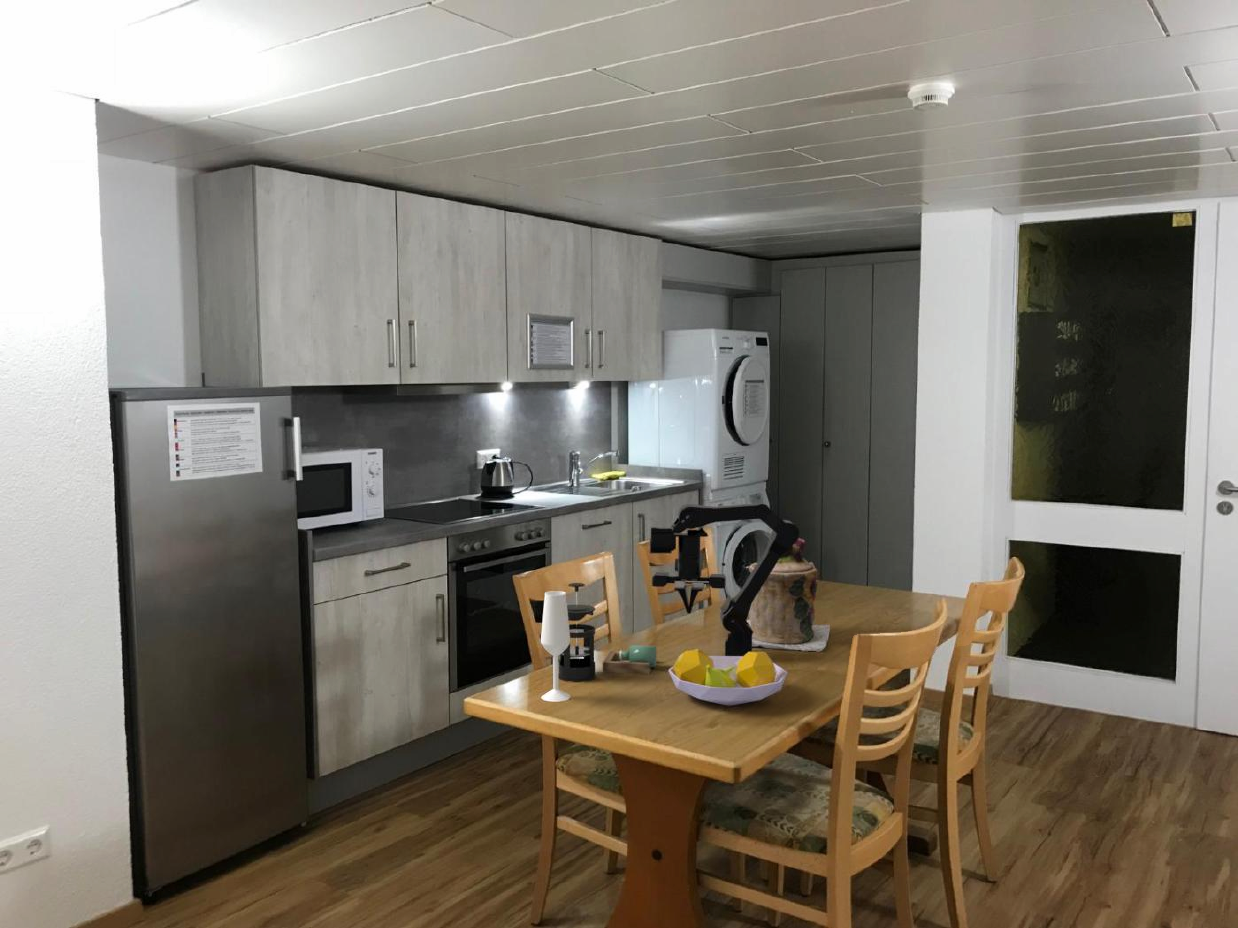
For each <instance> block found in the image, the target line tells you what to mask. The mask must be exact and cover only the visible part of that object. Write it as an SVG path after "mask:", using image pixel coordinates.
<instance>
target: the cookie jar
mask: <svg viewBox="0 0 1238 928" xmlns="http://www.w3.org/2000/svg"><path fill="white" fill-rule="evenodd" d="M805 550H806V540H804V539H803V538H800V537H799V538H798V540H797V542H796V543H795V544H794V545H793V546H792V547H791V548H790V549H789V550H788V551H787V552H786V553H785V554H784V555H782V556H781V557H780V559H779V560H778V562H777V563H776V565H775V567H774V568H773V570H772V571H771V573H770V575H769V576H768V578H767V579H766V581H765V583H764V584H763V586H762V587H761V589H760V591H759V592H758V594H757V595H756V597H755V599H754V600H753V602H752V604H751V607H750V611H749V614H748V617H749V619H746V621H747V622H748V623H749V625H750V627H751V629H752V630H753V634H752V648H753V647H762V648H766V649H775V650H788V651H789V650H790V651H798V650H801V651H800V652H808V651H817V652H816V653H819V652H823V650H824V649H825V648H826V646H827V642H828V641H829V636H830V631H831V627H830V624H814V621H815V617H816V616H815V615H816V611H815V605H814V603H815V601H816V598H817V591H818V586H819V585H818V582H817V580H818V577H819V571H818V569H817V568H816V566H815V564H814V563H813V562H812V561H810V562H809V561H808V560H806V559H805V558H803V556H802V554H800V553H803V552H804V551H805ZM757 563H758V562H754V563H752V564H751V565H749V569H748V570H749V572H750V574H751V573H752V571H753V569H754V568H755V566H756V565H757Z"/></svg>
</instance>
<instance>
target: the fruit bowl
mask: <svg viewBox="0 0 1238 928" xmlns="http://www.w3.org/2000/svg"><path fill="white" fill-rule="evenodd" d="M667 671H668V673H669V675H670V677H671V679H672V681H673V683H674V686H675V687H676V689H678V690H679V691H681V692H683V693H686V694H688V695H690V696H692V697H694V698H696V699H698V700H702V701H706V702H710V703H715V704H718V705H723V706H728V707H731V706H736V705H741V704H747V703H751V702H758V701H761V700H763V699H765V698H768V697H769V696H771V695H773V694H775V693H778V692H780V691H781V689H782V687H783V685H784V682H785V679H786V677H787V675H788V671H787V670H786V669H784V668H783V667H781V666H779V665H777V664H776V663H775V662H773V660H772V658H771V657H770V656H769V655H768V653H766V651H752V652H748V653H747V654H745V655H744V656H725V655H707V654H706V653H705V652H704V651H703V650H701V649H700V648H695V649H690V650H685V651H683V652H682V653H681V654H680V655H678V657H677V659H676V661H675V663H674V665H673V666H672V667H670V668H669V669H668V670H667Z"/></svg>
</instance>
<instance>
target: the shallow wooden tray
mask: <svg viewBox="0 0 1238 928" xmlns="http://www.w3.org/2000/svg"><path fill="white" fill-rule="evenodd" d="M652 668H653V667H650V663H640V662H629V660H622V661H620V650H618V651H614V650H610V651H609V652H608V653H607V656H606V657H605V659H604V660H603V661H602V673H612V674H613V673H614V674H635V673H641V675H650V673H651V670H652Z"/></svg>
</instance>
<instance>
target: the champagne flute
mask: <svg viewBox="0 0 1238 928" xmlns="http://www.w3.org/2000/svg"><path fill="white" fill-rule="evenodd" d="M567 605H568V603H567V593H566V592H565V591H562V590H556V591H555V590H554V591H553V590H549V591H546V592H544V600H543V612H542V623H541V634H540V635H541V636H540V643H541V645H542V647H543V648H544V650H545V651H547V653H549V655H552V660H553V661H552V669H553V670H552V672H553V673H552V677H553V678H552V680H553V683H552V684H553V687H552V689H551V690H550V691H547V692H546V693H544V695H541V699H542V700H543V701H546V702H554V703H555V702H557V703H558V702H559V703H560V702H565V701H568V700H569V698H570V699H571V697H570V696H571V695H570V694H568V693H567V692H566V691H565V692H564V691H563V690H561V688H560V687H559V678H558V674H559V663H558V655H559V656H560V654H561V653H562V652H563V651H564V650H565V649H566V648H567V647H568V645H569V644H570V645H571V638H570V630H569V624H570V623H569V621H568V611H567Z"/></svg>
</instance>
